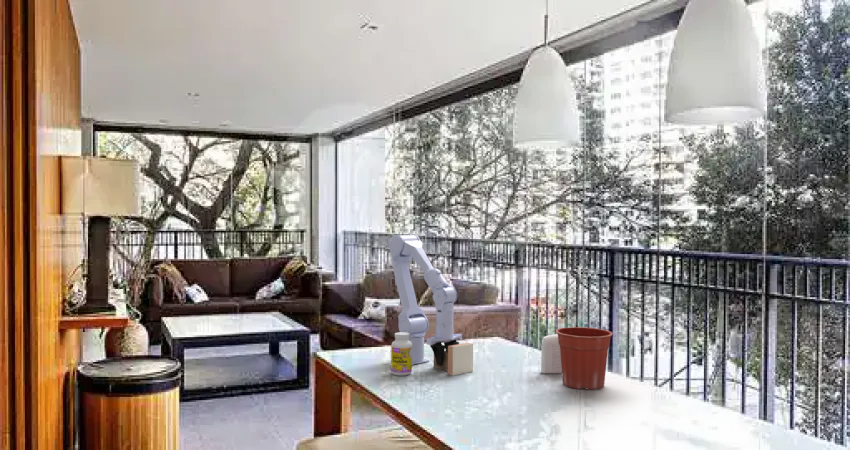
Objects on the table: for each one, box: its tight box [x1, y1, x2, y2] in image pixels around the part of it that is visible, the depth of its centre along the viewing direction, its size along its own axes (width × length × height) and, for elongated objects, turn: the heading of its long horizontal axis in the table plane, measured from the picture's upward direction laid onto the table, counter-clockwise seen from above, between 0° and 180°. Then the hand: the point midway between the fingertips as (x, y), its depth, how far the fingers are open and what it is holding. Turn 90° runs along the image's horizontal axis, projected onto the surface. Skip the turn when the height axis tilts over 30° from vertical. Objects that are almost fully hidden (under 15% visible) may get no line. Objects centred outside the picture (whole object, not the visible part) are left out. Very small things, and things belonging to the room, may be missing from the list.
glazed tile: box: [447, 342, 474, 376], centre depth 211 cm, size 2×9×9 cm, turn 132°
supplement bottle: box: [390, 331, 413, 377], centre depth 209 cm, size 7×7×13 cm
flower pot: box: [555, 326, 613, 391], centre depth 196 cm, size 16×16×16 cm
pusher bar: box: [433, 350, 448, 371], centre depth 216 cm, size 8×2×6 cm, turn 42°
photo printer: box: [540, 333, 562, 374], centre depth 212 cm, size 10×4×12 cm, turn 98°
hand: (444, 364), depth 216 cm, fingers open, 4 cm apart
